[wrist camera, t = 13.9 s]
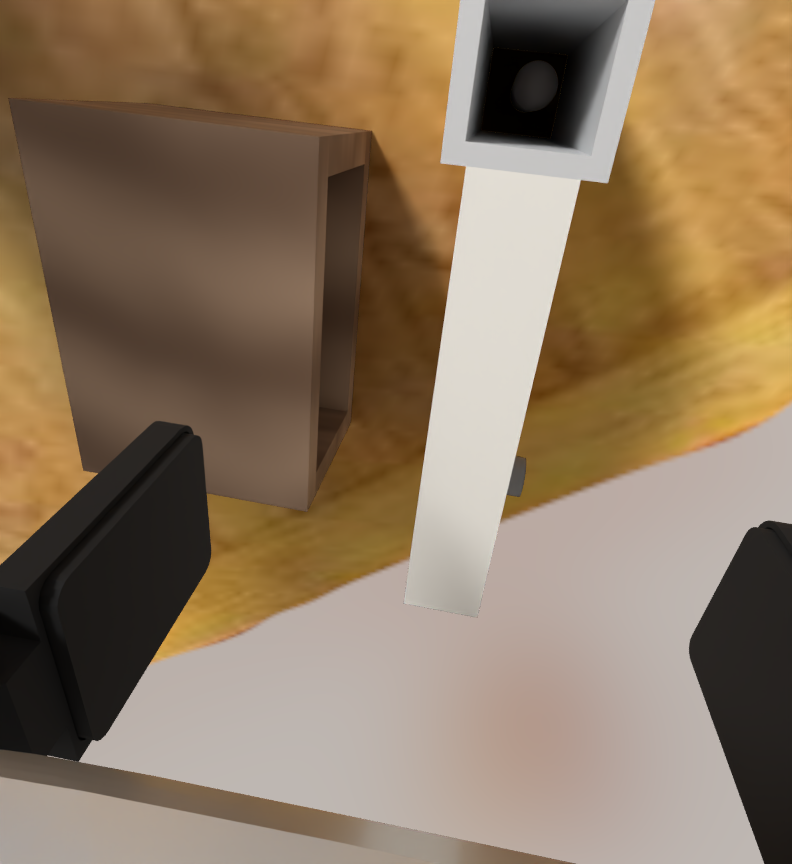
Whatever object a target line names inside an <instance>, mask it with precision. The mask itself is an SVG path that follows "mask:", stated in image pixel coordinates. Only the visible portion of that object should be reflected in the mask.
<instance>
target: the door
mask: <svg viewBox="0 0 792 864" xmlns="http://www.w3.org/2000/svg"><path fill="white" fill-rule="evenodd" d="M654 3H655V0H460V7H459V15H458V24H457V32H456V40H455V48H454V56H453V64H452V72H451V80H450V89H449V97H448V105H447V113H446V121H445V129H444V137H443V145H442V154H441V162H440V163H443V164H452V165H460V166H466V171H465V178H464V185H463V192H462V199H461V206H460V213H459V220H458V227H457V234H456V241H455V248H454V255H453V262H452V269H451V276H450V283H449V290H448V296H447V303H446V310H445V317H444V324H443V331H442V338H441V345H440V352H439V359H438V366H437V373H436V380H435V387H434V394H433V401H432V408H431V415H430V422H429V429H428V436H427V443H426V450H425V457H424V464H423V470H422V477H421V484H420V491H419V498H418V505H417V512H416V519H415V526H414V533H413V540H412V547H411V554H410V561H409V568H408V575H407V582H406V590H405V596H404V604H409V605H414V606H419V607H424V608H430V609H435V610H440V611H446V612H450V613H456V614H461V615H466V616H471V617H478V613H479V608H480V604H481V600H482V596H483V592H484V587H485V583H486V579H487V575H488V570H489V566H490V562H491V558H492V554H493V549H494V545H495V541H496V536H497V532H498V528H499V524H500V520H501V516H502V511H503V507H504V503H505V499H506V495H511V496H517V497H520V495H521V492H522V489H523V484H524V479H525V472H526V458H523V457H517V456H516V452H517V448H518V444H519V439H520V435H521V431H522V427H523V423H524V418H525V414H526V410H527V406H528V401H529V397H530V393H531V389H532V385H533V380H534V376H535V372H536V368H537V363H538V359H539V355H540V351H541V346H542V342H543V338H544V334H545V330H546V325H547V321H548V317H549V313H550V308H551V304H552V300H553V296H554V291H555V287H556V283H557V279H558V275H559V270H560V266H561V262H562V258H563V253H564V249H565V245H566V241H567V237H568V232H569V228H570V224H571V220H572V215H573V211H574V207H575V203H576V198H577V194H578V190H579V186H580V182H581V180H585V181H593V182H601V183H608V181H609V177H610V173H611V169H612V166H613V162H614V158H615V154H616V150H617V146H618V142H619V138H620V135H621V131H622V127H623V123H624V119H625V115H626V111H627V108H628V104H629V100H630V96H631V92H632V88H633V84H634V81H635V77H636V73H637V69H638V65H639V61H640V57H641V53H642V50H643V46H644V42H645V38H646V34H647V30H648V26H649V23H650V19H651V15H652V11H653V7H654ZM493 48H500V49H510V50H520V51H530V52H540V53H550V54H560V55H568V56H567V61H566V65H565V70H564V75H563V80H562V85H561V90H560V95H559V99H558V104H557V109H556V114H555V119H554V124H553V129H552V134H551V138H545V137H536V136H528V135H519V134H510V133H502V132H493V131H484V130H481V128H482V121H483V115H484V108H485V101H486V95H487V88H488V82H489V75H490V68H491V62H492V55H493Z"/></svg>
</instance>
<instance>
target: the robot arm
mask: <svg viewBox="0 0 792 864" xmlns="http://www.w3.org/2000/svg"><path fill="white" fill-rule="evenodd" d="M210 558H211V542H210V529H209V517H208V505H207V493H206V481H205V468H204V456H203V444H202V439H201V437H200V436H198V435H194V433H193V430H192V428H191V427H190V426H188V425H182V424H176V423H170V422H164V421H155V422H153V423H152V424H151V425H150V426H149V427H147V428H146V429H145V430H144V431H143V432H142V433H141V434H140V435H139V436H138V437H137V438H136V439H135V440H134V441H133V442H131V443H130V444H129V445H128V446H127V447H126V448H125V449H124V450H123V451H122V452H121V453H120V454H119V455H118V456H117V457H115V458H114V459H113V460H112V461H111V462H110V463H109V464H108V465H107V466H106V467H105V468H104V469H103V470H102V471H100V472H99V473H98V474H97V475H96V476H95V477H94V478H93V479H92V480H91V481H90V482H89V483H88V484H87V485H86V486H84V487H83V488H82V489H81V490H80V491H79V492H78V493H77V494H76V495H75V496H74V497H73V498H72V499H71V500H70V501H68V502H67V503H66V504H65V505H64V506H63V507H62V508H61V509H60V510H59V511H58V512H57V513H56V514H55V515H53V516H52V517H51V518H50V519H49V520H48V521H47V522H46V523H45V524H44V525H43V526H42V527H41V528H40V529H39V530H37V531H36V532H35V533H34V534H33V535H32V536H31V537H30V538H29V539H28V540H27V541H26V542H25V543H24V544H23V545H21V546H20V547H19V548H18V549H17V550H16V551H15V552H14V553H13V554H12V555H11V556H10V557H9V558H8V559H6V560H5V561H4V562H3V563H2V564H1V565H0V864H575V863H570V862H565V861H560V860H555V859H551V858H546V857H541V856H537V855H531V854H527V853H522V852H518V851H513V850H508V849H503V848H499V847H494V846H489V845H484V844H479V843H475V842H470V841H465V840H460V839H456V838H451V837H447V836H442V835H437V834H432V833H428V832H423V831H418V830H413V829H408V828H403V827H398V826H394V825H389V824H385V823H380V822H374V821H370V820H366V819H361V818H356V817H351V816H346V815H341V814H336V813H332V812H327V811H322V810H317V809H312V808H307V807H303V806H297V805H292V804H288V803H283V802H278V801H273V800H268V799H263V798H259V797H254V796H249V795H244V794H239V793H234V792H229V791H224V790H220V789H214V788H210V787H204V786H199V785H195V784H190V783H185V782H180V781H176V780H171V779H166V778H161V777H156V776H151V775H145V774H140V773H135V772H129V771H124V770H119V769H113V768H108V767H102V766H97V765H91V764H86V763H81V762H79V760H80V758H81V757H82V755H83V754H84V752H85V751H86V749H87V747H88V746H89V744H90V743H91V741H92V740H95V741H98V740H101V739H102V738H103V737H104V736H105V735H106V733H107V732H108V731H109V729H110V727H111V726H112V724H113V723H114V721H115V719H116V718H117V716H118V714H119V713H120V711H121V709H122V708H123V706H124V704H125V703H126V701H127V699H128V698H129V696H130V695H131V693H132V691H133V690H134V688H135V687H136V685H137V683H138V682H139V680H140V678H141V677H142V675H143V674H144V672H145V670H146V669H147V667H148V665H149V664H150V662H151V660H152V659H153V657H154V656H155V654H156V652H157V651H158V649H159V647H160V646H161V644H162V642H163V641H164V639H165V638H166V636H167V634H168V633H169V631H170V629H171V628H172V626H173V624H174V623H175V621H176V620H177V618H178V616H179V615H180V613H181V611H182V610H183V608H184V606H185V605H186V603H187V602H188V600H189V598H190V597H191V595H192V593H193V592H194V590H195V588H196V587H197V585H198V584H199V582H200V580H201V579H202V577H203V575H204V574H205V572H206V570H207V568H208V565H209V562H210ZM689 654H690V659H691V662H692V665H693V668H694V671H695V673H696V676H697V679H698V682H699V684H700V687H701V690H702V693H703V695H704V698H705V701H706V704H707V706H708V709H709V712H710V715H711V718H712V720H713V723H714V726H715V729H716V731H717V734H718V737H719V740H720V742H721V745H722V748H723V751H724V753H725V756H726V759H727V762H728V764H729V767H730V770H731V773H732V775H733V778H734V781H735V784H736V787H737V789H738V792H739V795H740V797H741V800H742V803H743V806H744V809H745V811H746V814H747V817H748V820H749V822H750V825H751V828H752V831H753V833H754V836H755V839H756V842H757V844H758V847H759V850H760V853H761V856H762V858H763V861H764V864H792V524H787V523H781V522H775V521H765V522H763V523H762V524H760V526H759V527H758V528H757V527H753V528H751V529H749V530H748V532H747V533H746V535H745V536H744V538H743V540H742V542H741V544H740V546H739V548H738V550H737V552H736V554H735V555H734V557H733V559H732V561H731V563H730V565H729V567H728V569H727V570H726V572H725V574H724V576H723V578H722V580H721V582H720V584H719V586H718V587H717V589H716V591H715V593H714V595H713V597H712V599H711V601H710V603H709V605H708V607H707V608H706V610H705V612H704V614H703V616H702V618H701V620H700V621H699V623H698V625H697V627H696V629H695V631H694V633H693V635H692V637H691V639H690V645H689ZM47 755H49V756H54V757H58V758H54V757H48V756H47ZM59 758H63V759H59ZM65 759H68V760H65ZM70 760H73V761H70ZM75 761H77V762H75Z"/></svg>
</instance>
